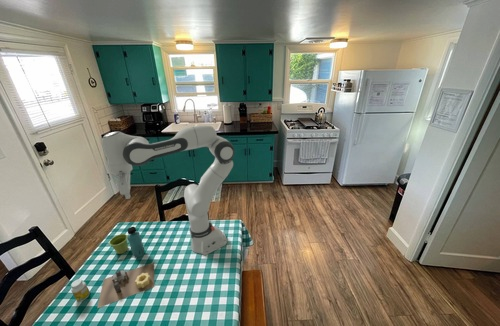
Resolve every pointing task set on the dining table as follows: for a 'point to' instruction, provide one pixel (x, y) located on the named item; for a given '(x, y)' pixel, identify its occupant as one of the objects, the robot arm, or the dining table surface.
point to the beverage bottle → (135, 242)
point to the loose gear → (145, 282)
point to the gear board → (124, 285)
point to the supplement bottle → (80, 290)
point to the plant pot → (119, 243)
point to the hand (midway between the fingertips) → (128, 193)
